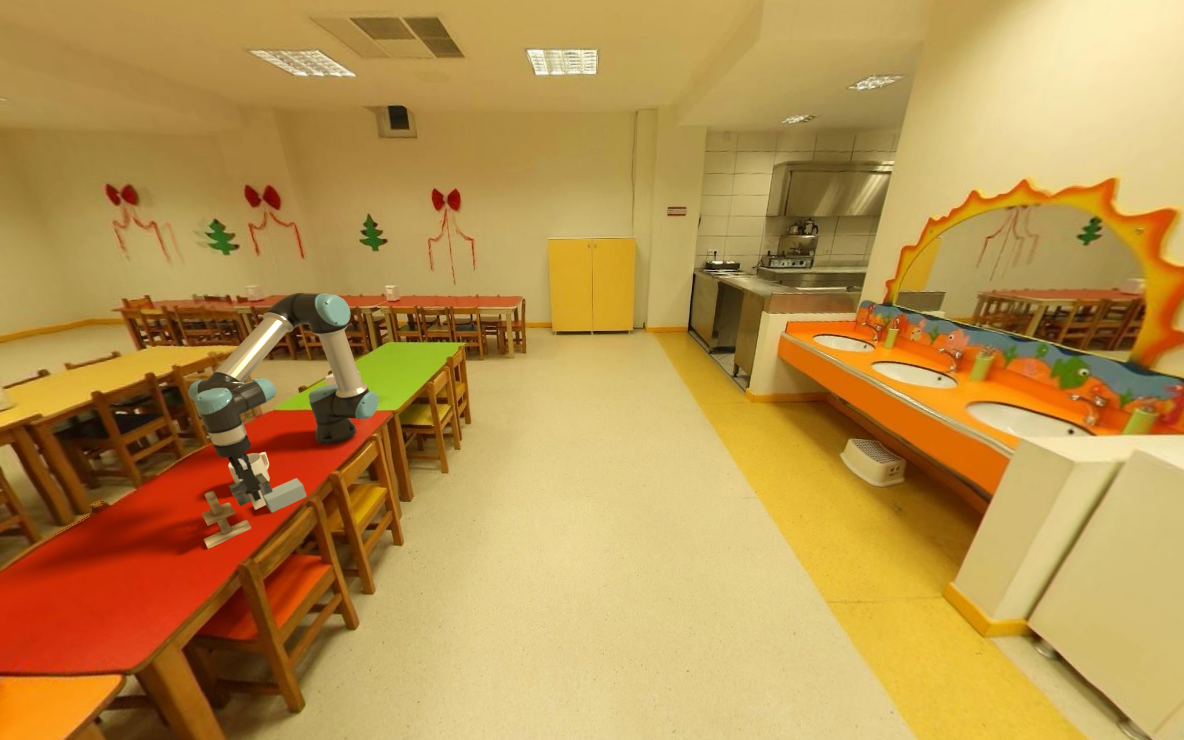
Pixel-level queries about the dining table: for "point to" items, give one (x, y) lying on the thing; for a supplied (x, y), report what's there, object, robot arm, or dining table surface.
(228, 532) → the stand
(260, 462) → the mug
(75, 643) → the dining table surface
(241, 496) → the c link
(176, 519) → the dining table surface
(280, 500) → the block
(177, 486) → the dining table surface
